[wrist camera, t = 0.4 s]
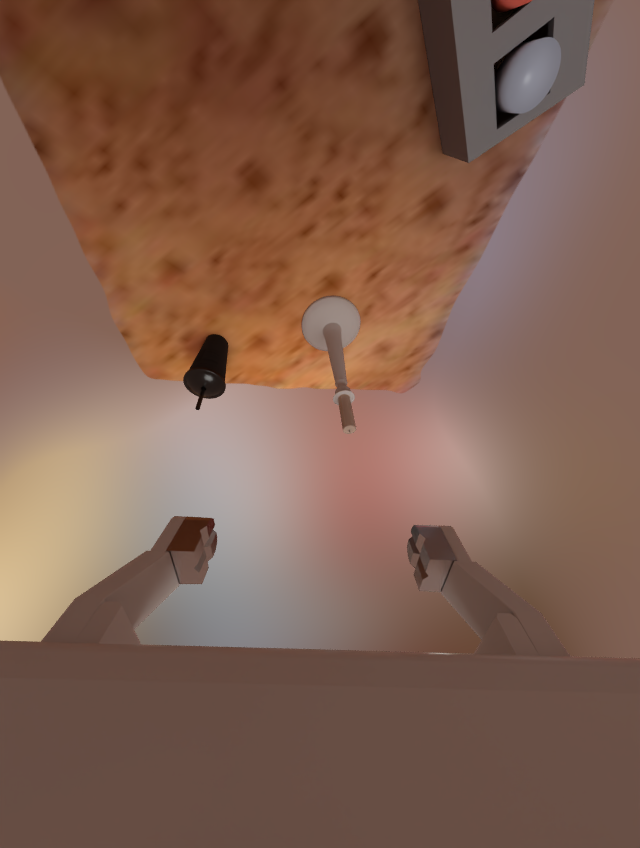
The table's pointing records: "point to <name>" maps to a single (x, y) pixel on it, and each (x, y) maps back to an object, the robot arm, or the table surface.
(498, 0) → the red button
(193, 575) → the robot arm
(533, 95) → the blue button
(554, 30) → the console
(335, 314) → the candlestick
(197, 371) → the drinking cup
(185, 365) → the table surface
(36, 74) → the table surface
